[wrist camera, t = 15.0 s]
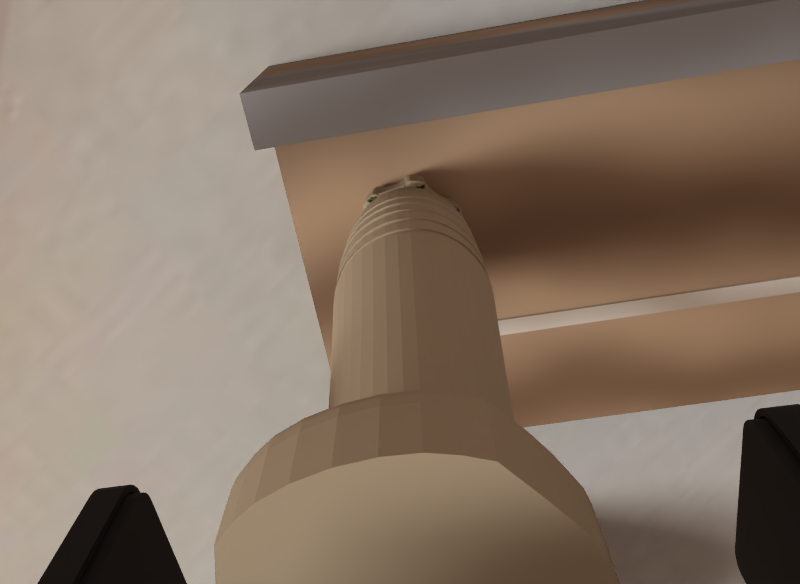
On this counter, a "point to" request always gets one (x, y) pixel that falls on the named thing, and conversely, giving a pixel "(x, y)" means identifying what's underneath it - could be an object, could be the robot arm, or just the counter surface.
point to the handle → (411, 434)
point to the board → (579, 189)
